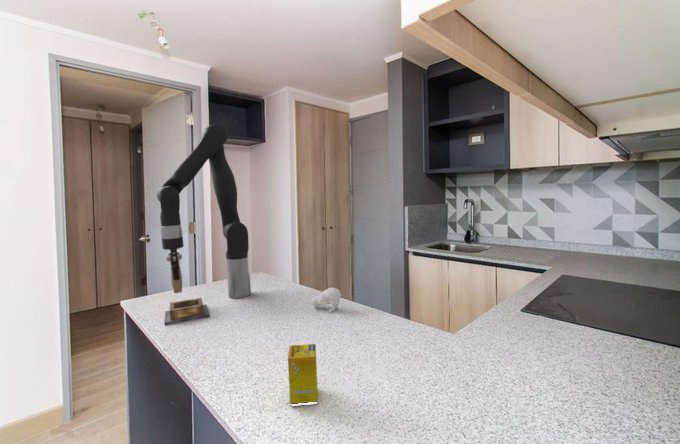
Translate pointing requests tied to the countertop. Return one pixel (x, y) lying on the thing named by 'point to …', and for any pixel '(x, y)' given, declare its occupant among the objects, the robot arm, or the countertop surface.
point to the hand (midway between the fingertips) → (176, 278)
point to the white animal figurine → (327, 299)
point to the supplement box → (302, 373)
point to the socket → (186, 311)
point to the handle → (176, 283)
